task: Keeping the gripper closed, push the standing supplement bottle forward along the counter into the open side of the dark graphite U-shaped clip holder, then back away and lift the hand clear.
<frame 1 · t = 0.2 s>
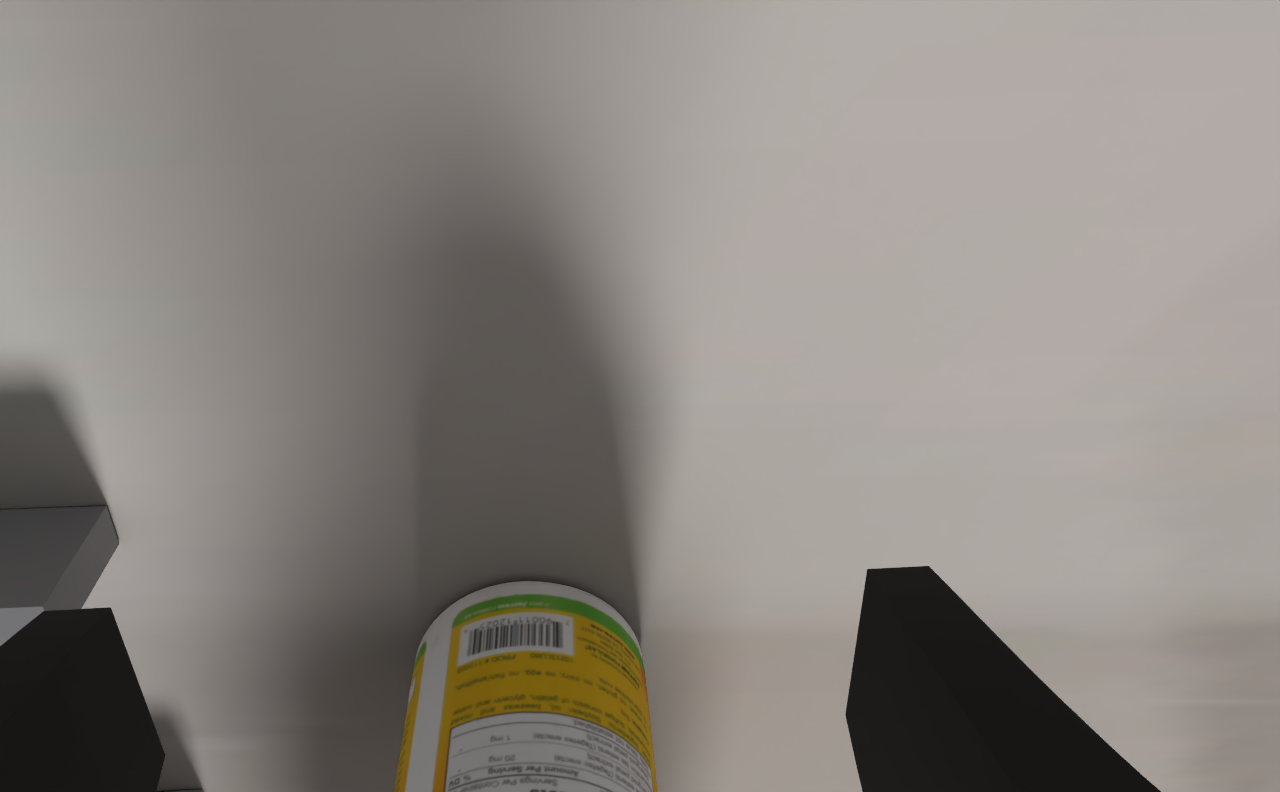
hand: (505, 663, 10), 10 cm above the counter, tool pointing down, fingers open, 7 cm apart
clip holder: (97, 680, 23), on the counter
supplement bottle: (530, 652, 24), on the counter
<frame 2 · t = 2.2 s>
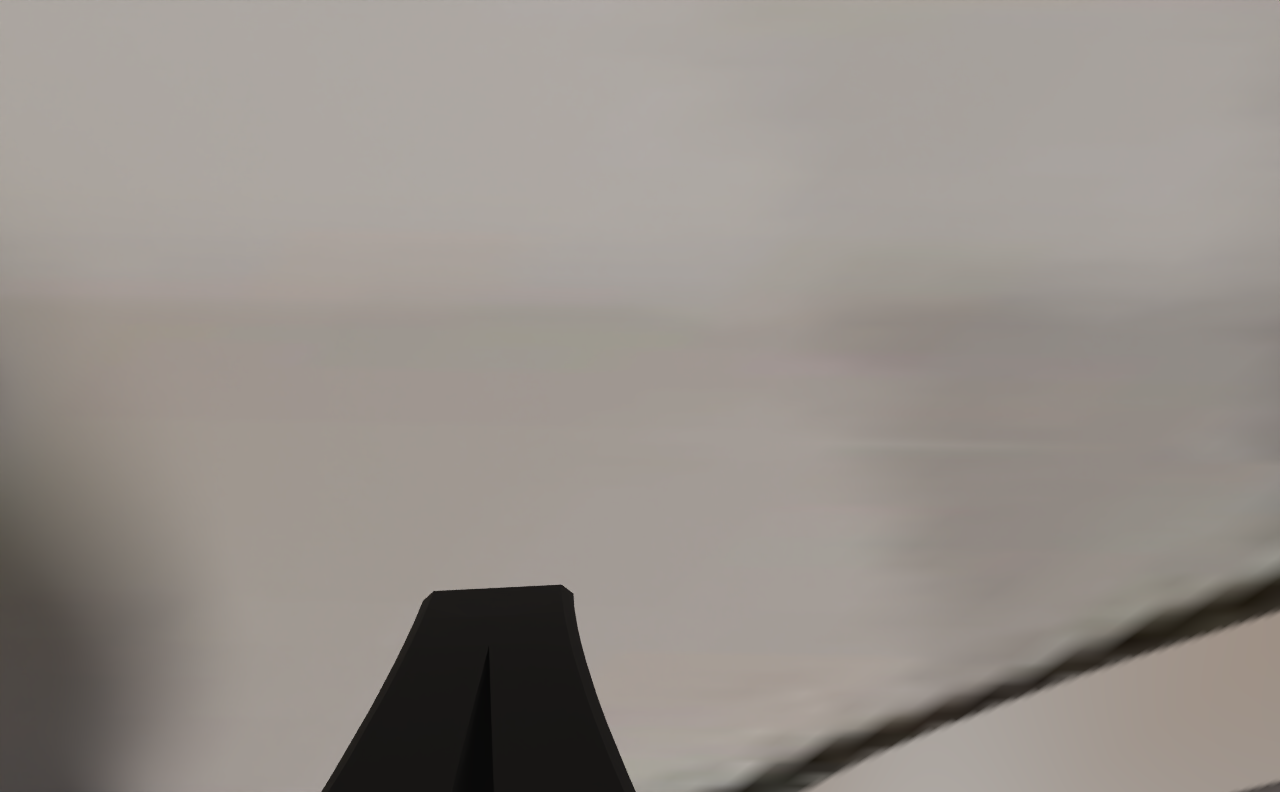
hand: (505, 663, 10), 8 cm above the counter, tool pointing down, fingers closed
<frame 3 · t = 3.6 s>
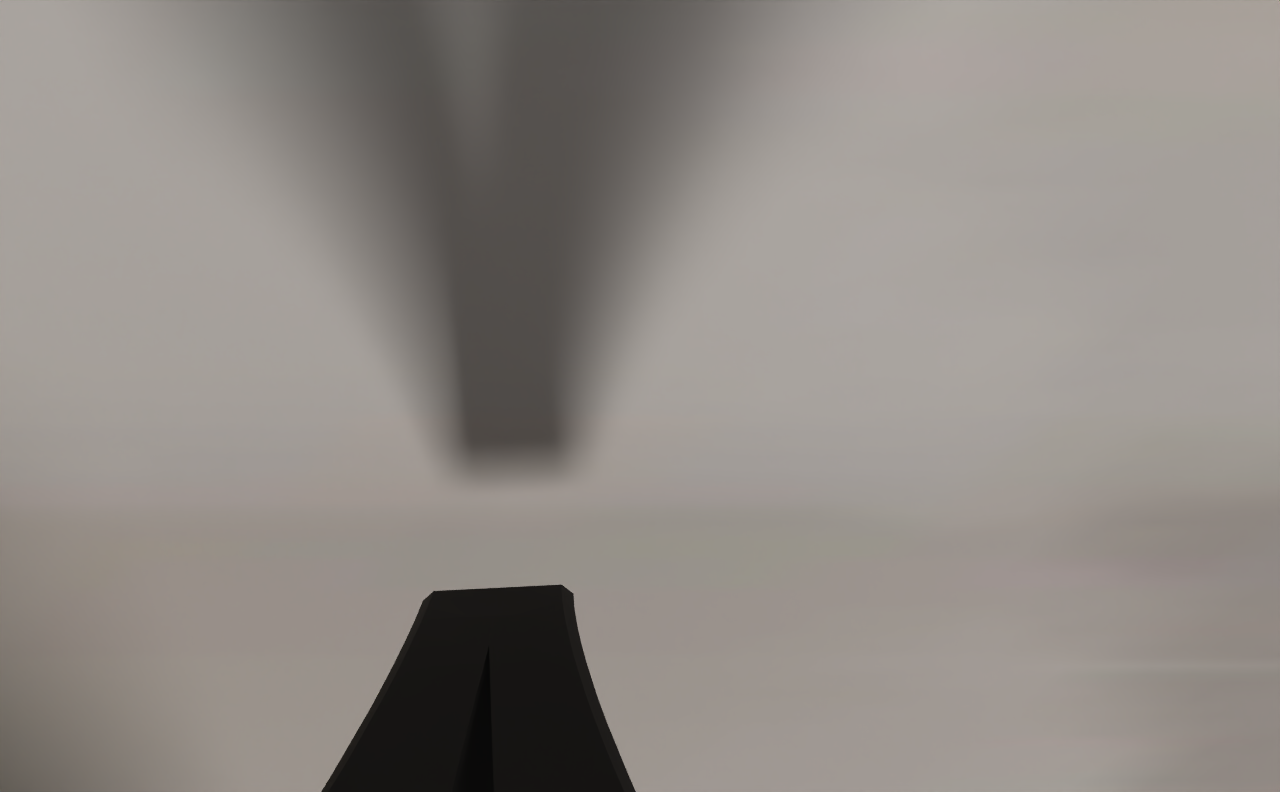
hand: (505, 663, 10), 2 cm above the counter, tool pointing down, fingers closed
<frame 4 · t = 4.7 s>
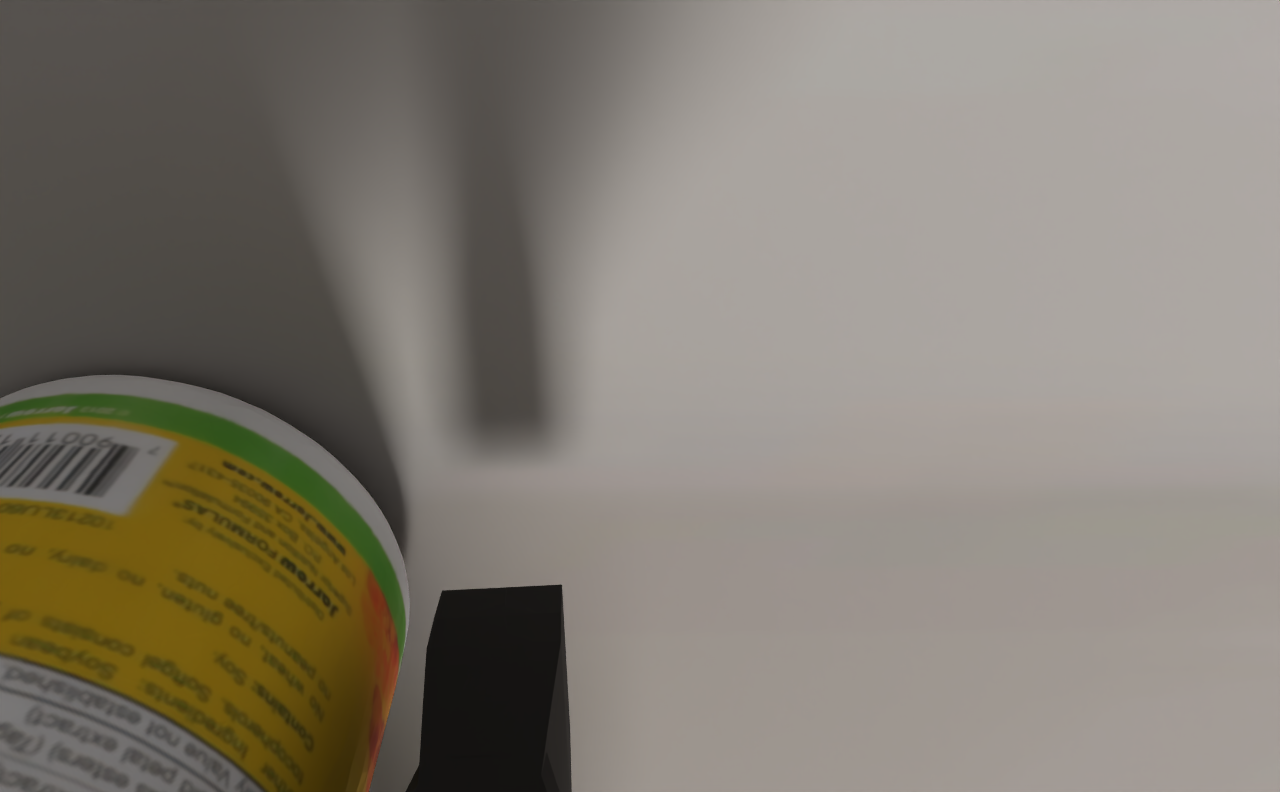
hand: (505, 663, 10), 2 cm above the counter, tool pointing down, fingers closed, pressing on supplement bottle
supplement bottle: (186, 556, 12), on the counter, touching gripper
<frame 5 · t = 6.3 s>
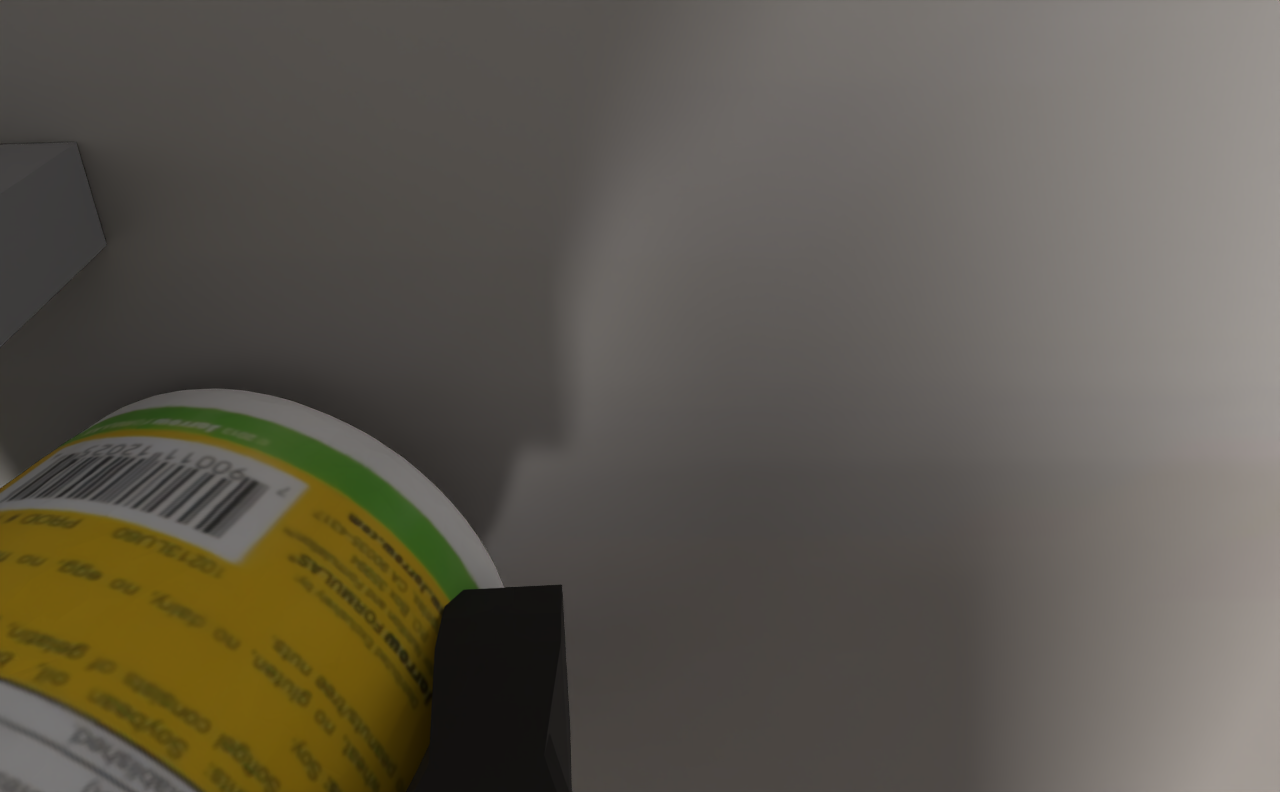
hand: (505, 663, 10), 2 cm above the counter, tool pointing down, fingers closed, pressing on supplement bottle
clip holder: (70, 574, 12), on the counter
supplement bottle: (304, 580, 11), point 1 cm above the counter, touching gripper
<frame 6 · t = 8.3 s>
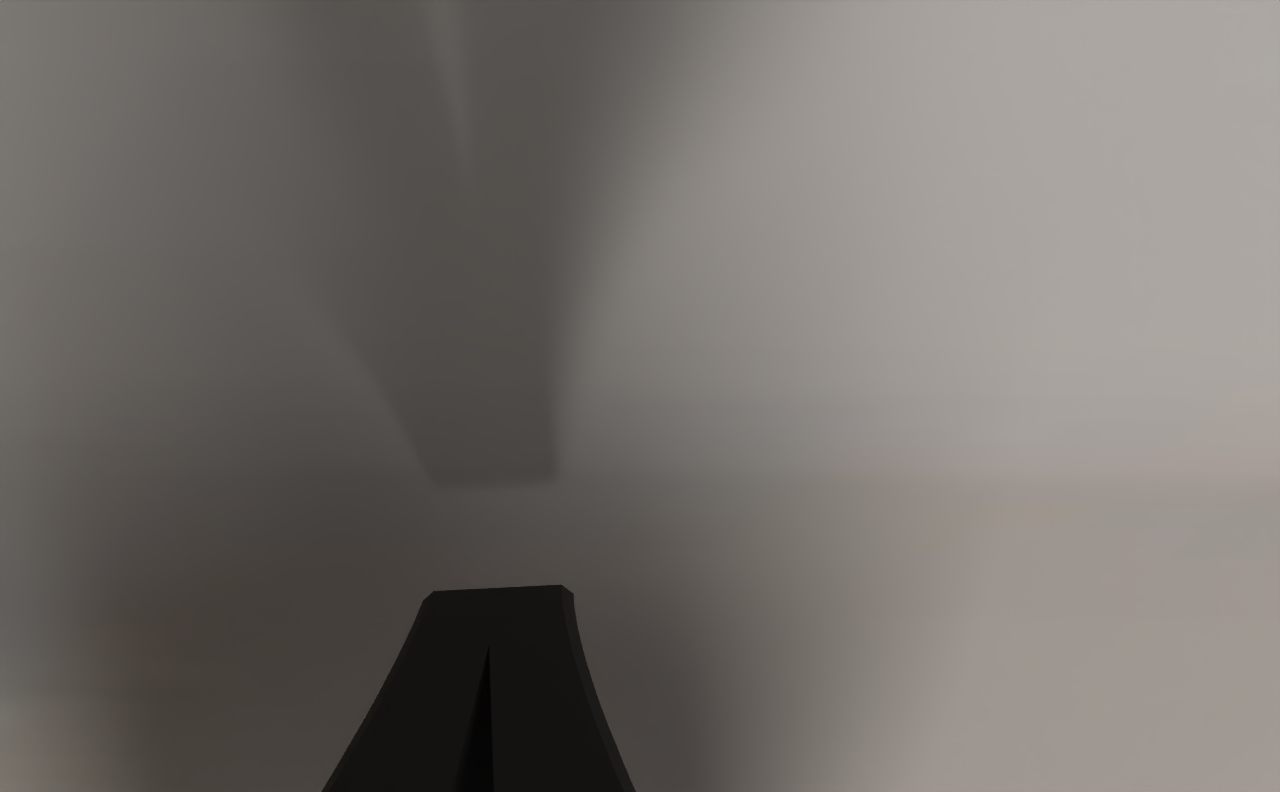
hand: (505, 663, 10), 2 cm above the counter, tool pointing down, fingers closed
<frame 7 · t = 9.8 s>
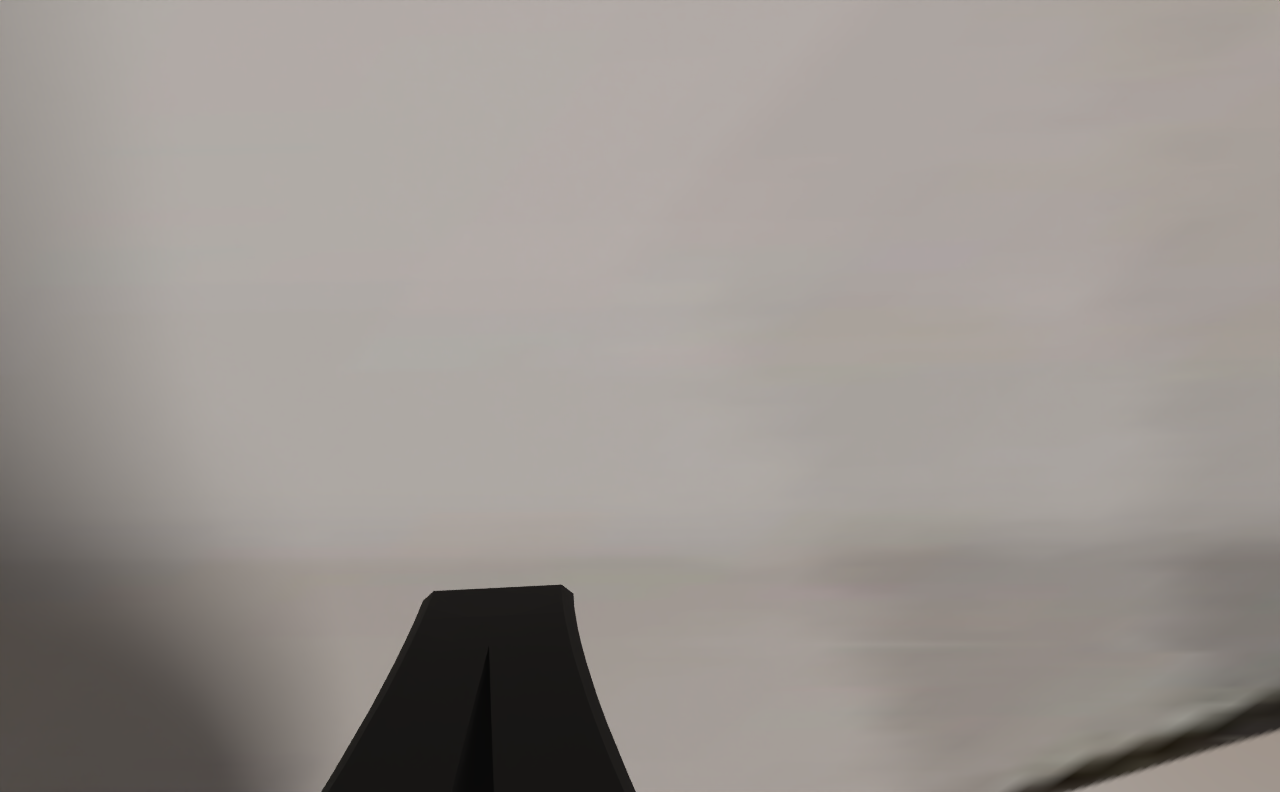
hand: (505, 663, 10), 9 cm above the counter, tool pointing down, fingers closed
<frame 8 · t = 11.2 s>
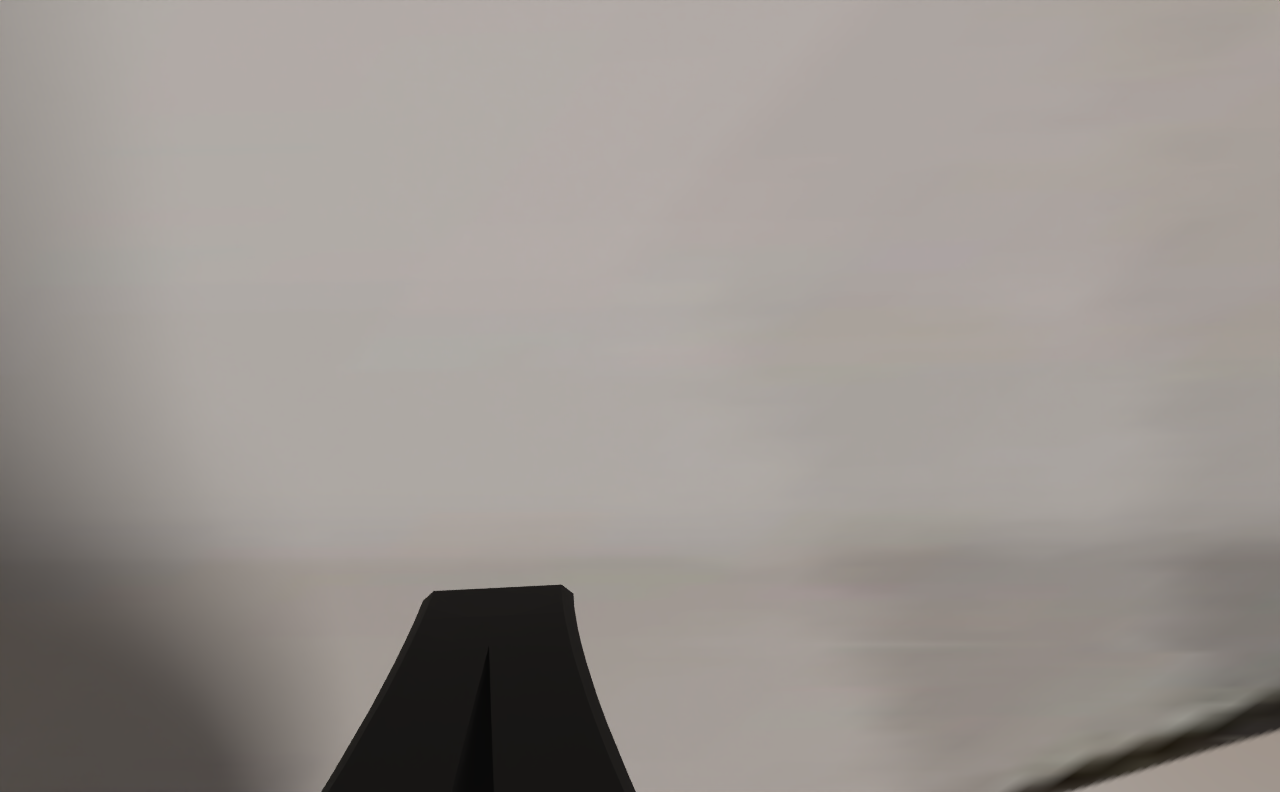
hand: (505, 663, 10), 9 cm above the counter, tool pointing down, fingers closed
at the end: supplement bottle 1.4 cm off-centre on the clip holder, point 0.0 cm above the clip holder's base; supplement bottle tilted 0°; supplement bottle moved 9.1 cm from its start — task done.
